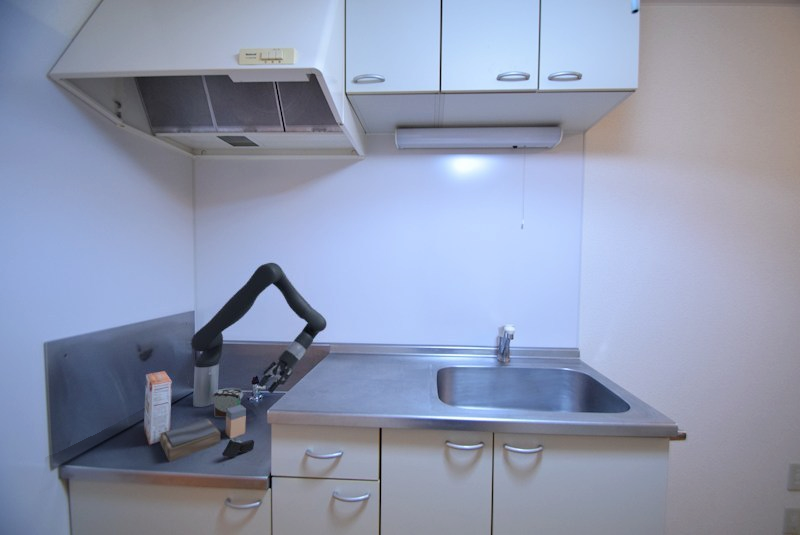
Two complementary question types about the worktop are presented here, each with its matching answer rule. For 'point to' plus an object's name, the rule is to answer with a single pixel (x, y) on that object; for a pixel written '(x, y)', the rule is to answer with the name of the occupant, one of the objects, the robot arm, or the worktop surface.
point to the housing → (235, 421)
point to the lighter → (237, 447)
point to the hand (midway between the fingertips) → (264, 388)
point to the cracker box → (157, 406)
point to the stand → (189, 439)
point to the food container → (226, 400)
